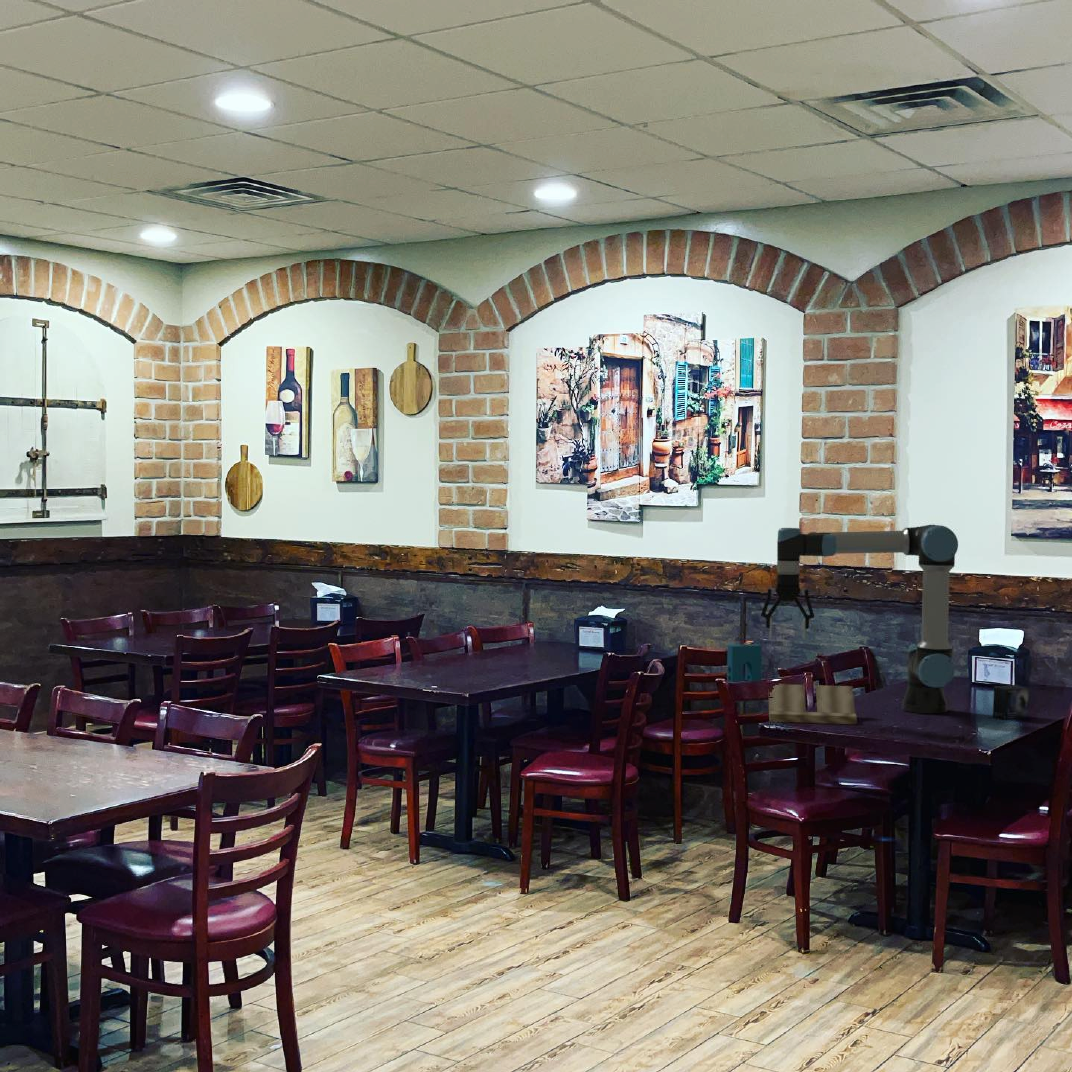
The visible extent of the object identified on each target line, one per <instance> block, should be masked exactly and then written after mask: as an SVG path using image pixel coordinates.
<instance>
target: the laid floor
mask: <svg viewBox="0 0 1072 1072" xmlns="http://www.w3.org/2000/svg"><path fill="white" fill-rule="evenodd" d="M768 719H769V720H768V721H769V722H774V723H775V722H777V723H802V724H803V723H804V724H805V723H806V724H807V723H808V724H810V723H811V724H838V725H839V724H842V725H857V721H858V720H857V719H858V718H857V714H856V713H855V714H853V713H821V712H817V711H806V712H789V711H769V710H768Z"/></svg>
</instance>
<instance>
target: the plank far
mask: <svg viewBox="0 0 1072 1072" xmlns="http://www.w3.org/2000/svg"><path fill="white" fill-rule="evenodd" d="M778 684H779V685H775V686H773V688H774V689H773V690H772V692H770V693H769V692H768V712H769V711H789V712H807V711H806V709H807V708H806V693H805V692H806V689H805V684H783V683H778ZM769 694H770V696H769ZM769 697H773V698H769Z"/></svg>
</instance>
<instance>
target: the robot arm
mask: <svg viewBox="0 0 1072 1072" xmlns="http://www.w3.org/2000/svg"><path fill="white" fill-rule="evenodd" d="M776 541H777V542H776V543H777V546H776V547H777V549H776V551H777V553H776V557H777V558H776V560H777V561H776V572H777V574H776V586H775V588H770V587H769V588H767V596H766V598H765V602H764V604H763V607H762V609H761V613H760V616H761V617H762V618H765V619H766V621H765V623H766V624H765V625H766V628H767V629H769V636H768V637H769V639H773V618H772V615H773V614H774V612H775V611H776V609H777V608H778V606H779V604H780V603H781V602H782V601H785V602H786V601H790V602H793V601H794V603H796V605H797V607H798V608H799V610H800V612H801V613H802V615H803V617H804V618H803V619H802V639H803V640H806V630H809V628H810V626H809V625H810V620H811V619H813V618H815V613H814V610H813V607H812V604H811V600H810V596H809V589H808V588H800V571H801V570H800V569H801V568H800V567H801V566H800V565H801V564H800V563H801V562H800V561H801V557H807V556H808V557H834V556H835V555H840V554H841V555H842V554H843V555H844V554H884V553H885V554H887V553H888V554H890V553H891V554H893V553H894V554H895V553H903V554H904V555H905V556H916V557H917V556H918V567H920V569H922V598H921V600H922V601H921V603H922V604H921V639H920V642H918V643H917V644H915V643H914V644H910V645H909V647H908V650H907V657H908V658H907V689H906V691H905V693H904V697H903V700H902V703H901V706H902V707H901V710H903V711H905V712H909V713H916V714H917V713H918V714H928V715H929V714H932V715H933V714H943V713H947V712H948V703H947V700H946V697H945V692H944V690H943V687H945V686H947V685H948V684H950V682H951V681H952V680H953V678H954V676H955V671H956V668H955V664H954V661H953V646H952V645H951V644H950V642H949V607H950V604H949V603H950V571H951V570H952V569H953V568H954V567H955V563H956V560H955V557H956V554H957V551H958V549H959V540H958V537H957V535H956V534H955V532H954V531H953V530H952V529H951V528H949V527H947V526H944V525H940V524H927V525H921V526H911V527H904V528H903V529H902V530H878V531H877V530H872V531H866V530H865V531H832V532H831V531H830V532H829V531H828V532H827V531H826V532H825V531H824V532H823V531H822V532H821V531H820V532H816V531H812V532H811V531H810V532H808V533H802V532H801V529H800V528H799V527H781V528H779V529H778V531H777V540H776ZM774 593H776V594H777V596H778V597H777V598H776V599H775V601H774V603H773V605H772V606H771V608H770V610H769V611H768V613H766V612H767V610H768V607H769V604H770V601H771V599H772V596H773V595H774ZM800 593H801V594H802V596H804V599H805V602H806V603H805V604H806V606H807V609H808V613H809V614H808V613H807V612H806V610H805V608H804V606H803V605H802V604H801V602H800V600H799V598H798V596H799V594H800Z"/></svg>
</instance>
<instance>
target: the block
mask: <svg viewBox="0 0 1072 1072" xmlns="http://www.w3.org/2000/svg"><path fill="white" fill-rule="evenodd" d="M726 647H727V649H726V651H727V657H726V659H727V660H726V664H727V665H726V669H727V670H726V682H727V681H730V682H740V681H761V682H762V659H763V657H762V655H763V654H762V653H763V646H762V644H757V643H751V644H750V643H748V644H747V643H744V644H727V646H726ZM744 668H745V669H744ZM757 700H758V699H757ZM757 700H747V701H748V702H757ZM741 702H742V703H743V702H744V703H745V702H746V700H745V701H738V702H737V703H741Z"/></svg>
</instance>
